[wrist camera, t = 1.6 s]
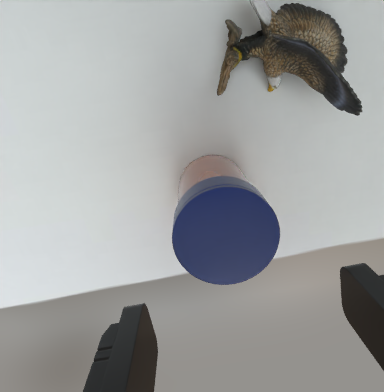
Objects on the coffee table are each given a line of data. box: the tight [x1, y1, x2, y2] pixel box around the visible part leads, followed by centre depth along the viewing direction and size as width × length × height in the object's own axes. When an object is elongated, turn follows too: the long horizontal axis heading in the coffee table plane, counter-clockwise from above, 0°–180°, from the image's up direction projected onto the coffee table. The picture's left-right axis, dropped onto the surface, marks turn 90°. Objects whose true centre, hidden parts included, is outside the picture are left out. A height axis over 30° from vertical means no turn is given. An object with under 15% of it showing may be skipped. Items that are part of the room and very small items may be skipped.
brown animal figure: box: [217, 0, 362, 116], centre depth 20 cm, size 8×7×9 cm
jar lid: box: [172, 176, 280, 285], centre depth 18 cm, size 6×6×2 cm
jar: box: [178, 155, 249, 202], centre depth 21 cm, size 5×5×9 cm
